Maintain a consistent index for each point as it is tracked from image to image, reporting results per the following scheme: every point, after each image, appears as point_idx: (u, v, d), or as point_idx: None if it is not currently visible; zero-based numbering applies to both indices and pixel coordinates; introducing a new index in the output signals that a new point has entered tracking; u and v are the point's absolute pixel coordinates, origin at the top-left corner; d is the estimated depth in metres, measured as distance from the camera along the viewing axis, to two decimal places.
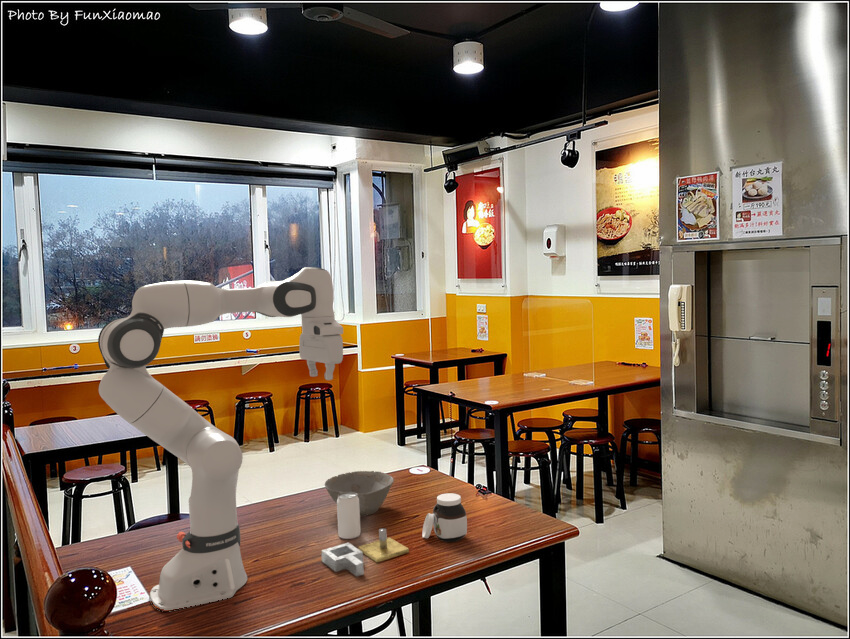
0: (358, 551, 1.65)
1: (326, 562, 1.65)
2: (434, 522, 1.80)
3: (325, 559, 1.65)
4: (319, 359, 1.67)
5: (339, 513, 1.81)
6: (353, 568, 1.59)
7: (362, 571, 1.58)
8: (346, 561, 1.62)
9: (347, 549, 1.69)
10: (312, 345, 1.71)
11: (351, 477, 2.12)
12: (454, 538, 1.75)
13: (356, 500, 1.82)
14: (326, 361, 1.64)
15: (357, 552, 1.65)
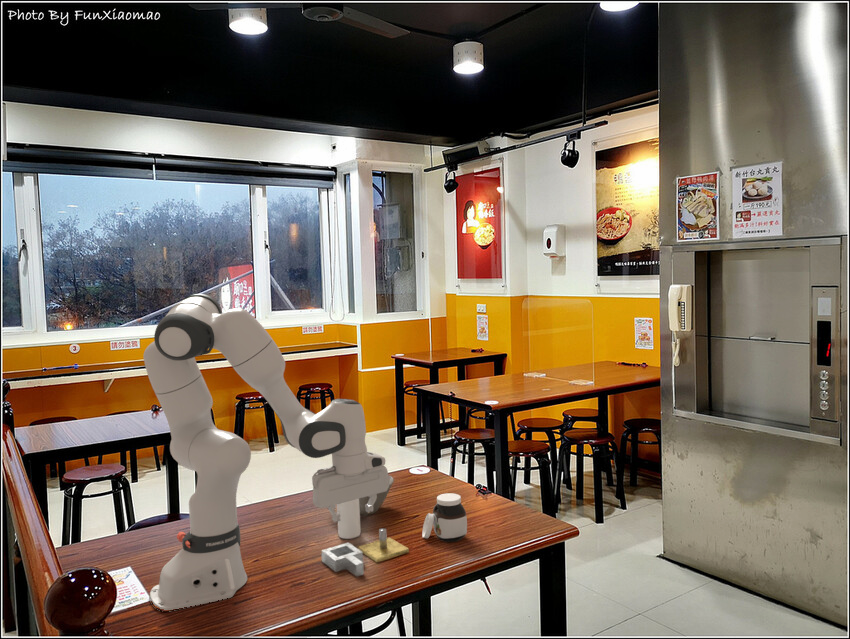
0: (358, 551, 1.65)
1: (326, 562, 1.65)
2: (434, 522, 1.80)
3: (325, 559, 1.65)
4: (367, 494, 1.60)
5: (339, 513, 1.81)
6: (353, 568, 1.59)
7: (362, 571, 1.58)
8: (346, 561, 1.62)
9: (347, 549, 1.69)
10: (349, 484, 1.57)
11: None
12: (454, 538, 1.75)
13: (356, 500, 1.82)
14: (381, 490, 1.62)
15: (357, 552, 1.65)
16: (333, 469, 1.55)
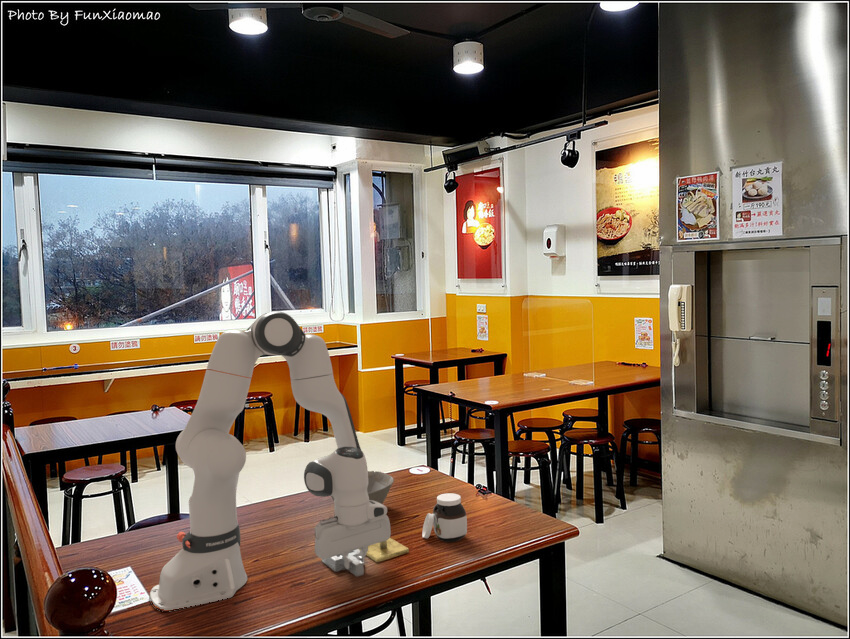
0: (358, 551, 1.65)
1: (326, 562, 1.65)
2: (434, 522, 1.80)
3: (325, 559, 1.65)
4: (368, 543, 1.60)
5: None
6: (353, 568, 1.59)
7: (362, 571, 1.58)
8: None
9: None
10: (351, 534, 1.58)
11: None
12: (454, 537, 1.75)
13: None
14: (383, 539, 1.63)
15: (357, 552, 1.65)
16: (335, 519, 1.56)
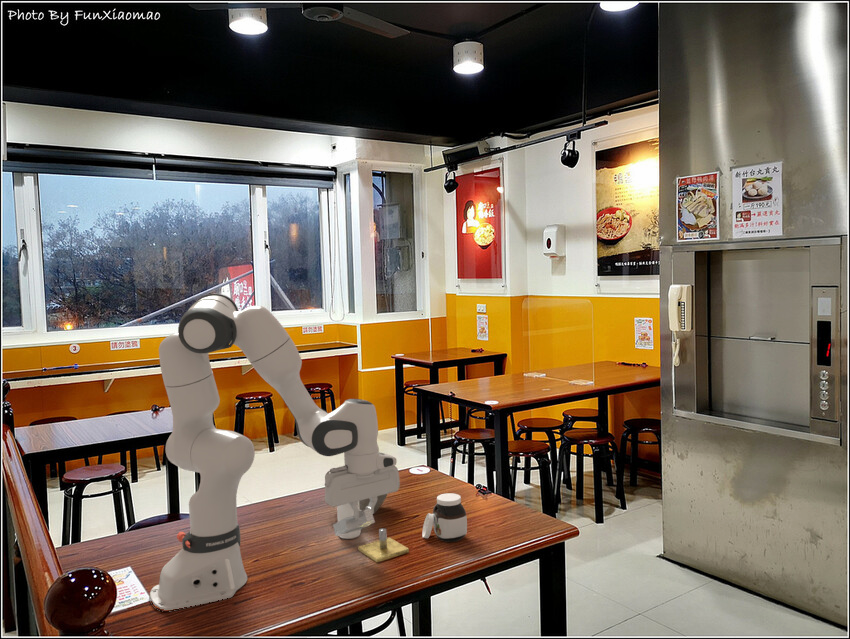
0: None
1: (339, 531, 1.65)
2: (434, 522, 1.80)
3: (337, 529, 1.65)
4: (378, 493, 1.61)
5: (339, 513, 1.81)
6: (363, 517, 1.60)
7: (372, 517, 1.59)
8: (356, 518, 1.63)
9: None
10: (361, 483, 1.59)
11: None
12: (454, 537, 1.75)
13: None
14: (392, 490, 1.64)
15: None
16: (345, 468, 1.57)
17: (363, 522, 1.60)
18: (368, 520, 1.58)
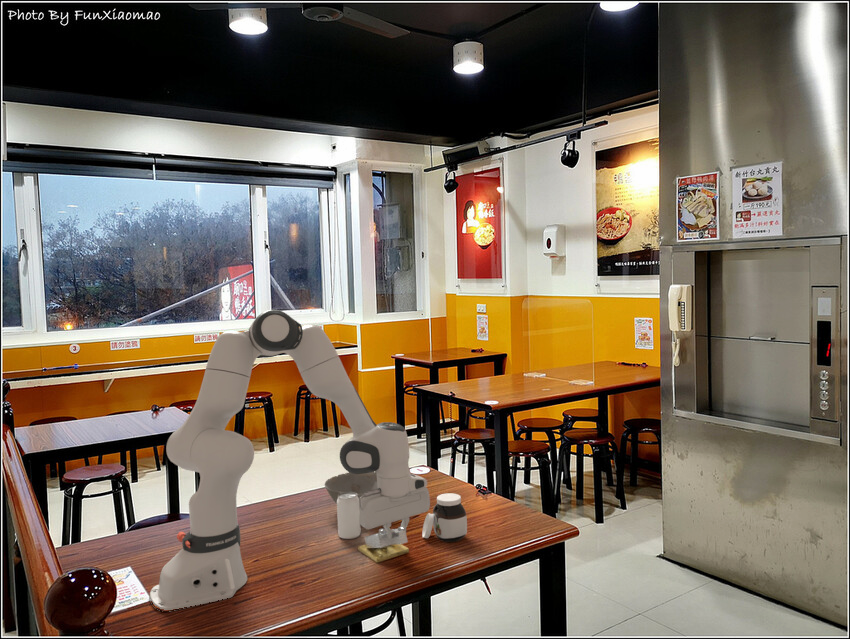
0: None
1: (371, 545, 1.70)
2: (434, 522, 1.80)
3: (369, 543, 1.70)
4: (410, 514, 1.66)
5: (339, 513, 1.81)
6: (397, 538, 1.64)
7: (406, 539, 1.64)
8: None
9: None
10: (394, 505, 1.64)
11: (351, 477, 2.12)
12: (454, 538, 1.75)
13: (356, 500, 1.82)
14: (423, 510, 1.69)
15: None
16: (379, 491, 1.62)
17: (397, 542, 1.65)
18: (402, 542, 1.63)
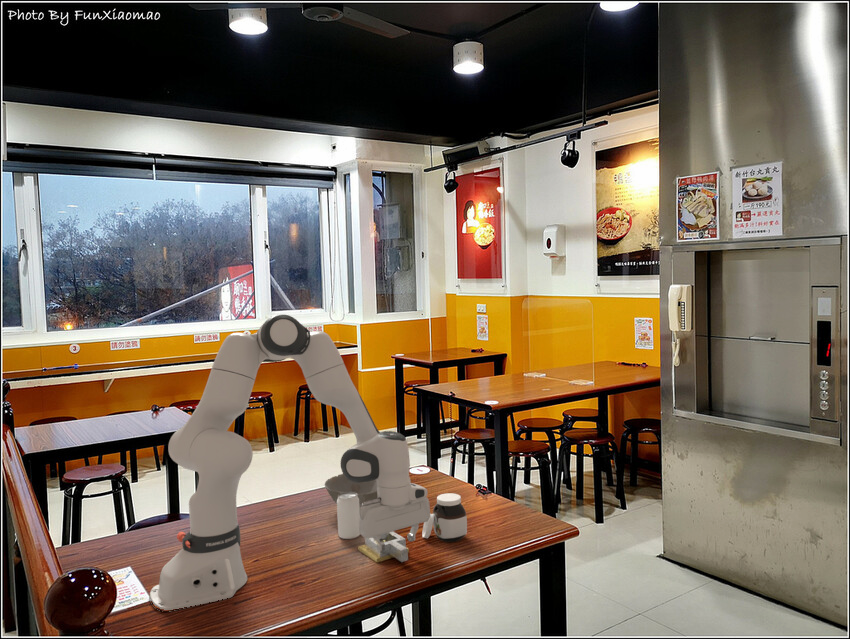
0: (401, 538, 1.70)
1: (370, 548, 1.70)
2: (434, 522, 1.80)
3: (369, 545, 1.70)
4: (410, 524, 1.66)
5: (339, 513, 1.81)
6: (398, 554, 1.64)
7: (406, 557, 1.63)
8: (390, 547, 1.67)
9: (390, 536, 1.74)
10: (394, 514, 1.64)
11: None
12: (454, 538, 1.75)
13: (356, 500, 1.82)
14: (423, 520, 1.69)
15: (400, 538, 1.70)
16: (379, 500, 1.62)
17: (397, 558, 1.64)
18: (402, 560, 1.63)
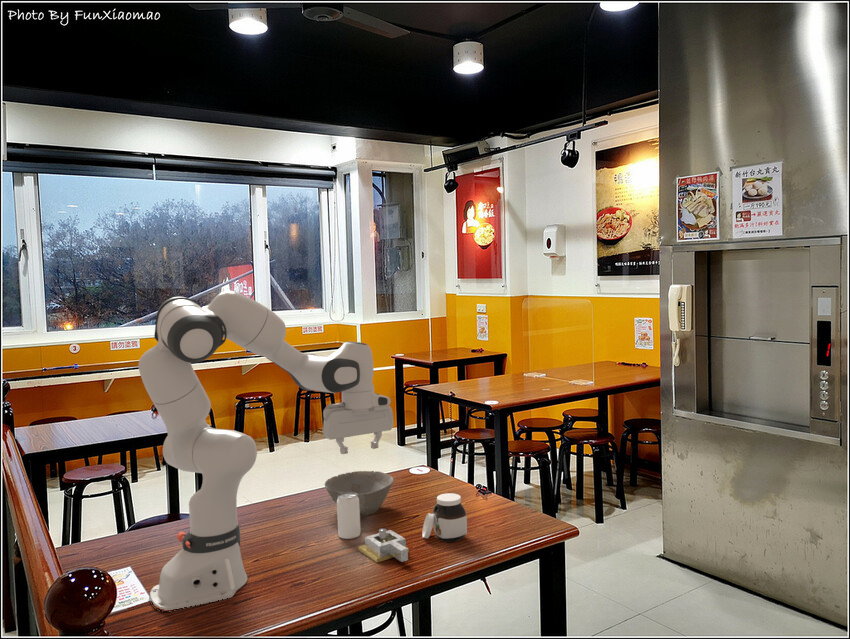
0: (401, 538, 1.70)
1: (370, 548, 1.70)
2: (434, 522, 1.80)
3: (369, 545, 1.70)
4: (373, 430, 1.73)
5: (339, 513, 1.81)
6: (398, 554, 1.64)
7: (406, 557, 1.63)
8: (390, 547, 1.67)
9: (390, 536, 1.74)
10: (357, 419, 1.70)
11: (351, 477, 2.12)
12: (454, 537, 1.75)
13: (356, 500, 1.82)
14: (386, 428, 1.75)
15: (400, 538, 1.70)
16: (342, 405, 1.69)
17: (397, 558, 1.64)
18: (402, 560, 1.63)
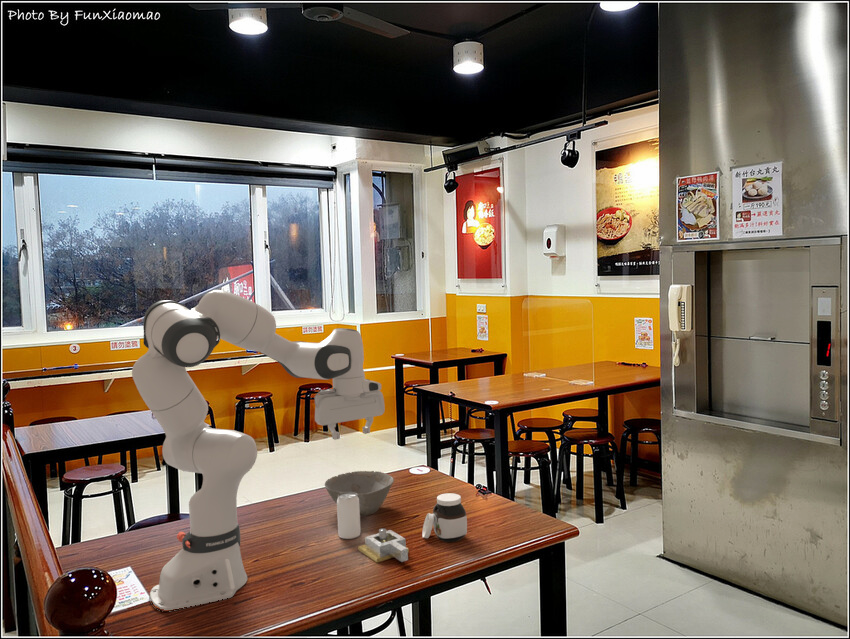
0: (401, 538, 1.70)
1: (370, 548, 1.70)
2: (434, 522, 1.80)
3: (369, 545, 1.70)
4: (364, 416, 1.75)
5: (339, 513, 1.81)
6: (398, 554, 1.64)
7: (406, 557, 1.63)
8: (390, 547, 1.67)
9: (390, 536, 1.74)
10: (348, 405, 1.72)
11: (351, 477, 2.12)
12: (454, 537, 1.75)
13: (356, 500, 1.82)
14: (377, 413, 1.77)
15: (400, 538, 1.70)
16: (334, 391, 1.71)
17: (397, 558, 1.64)
18: (402, 560, 1.63)
